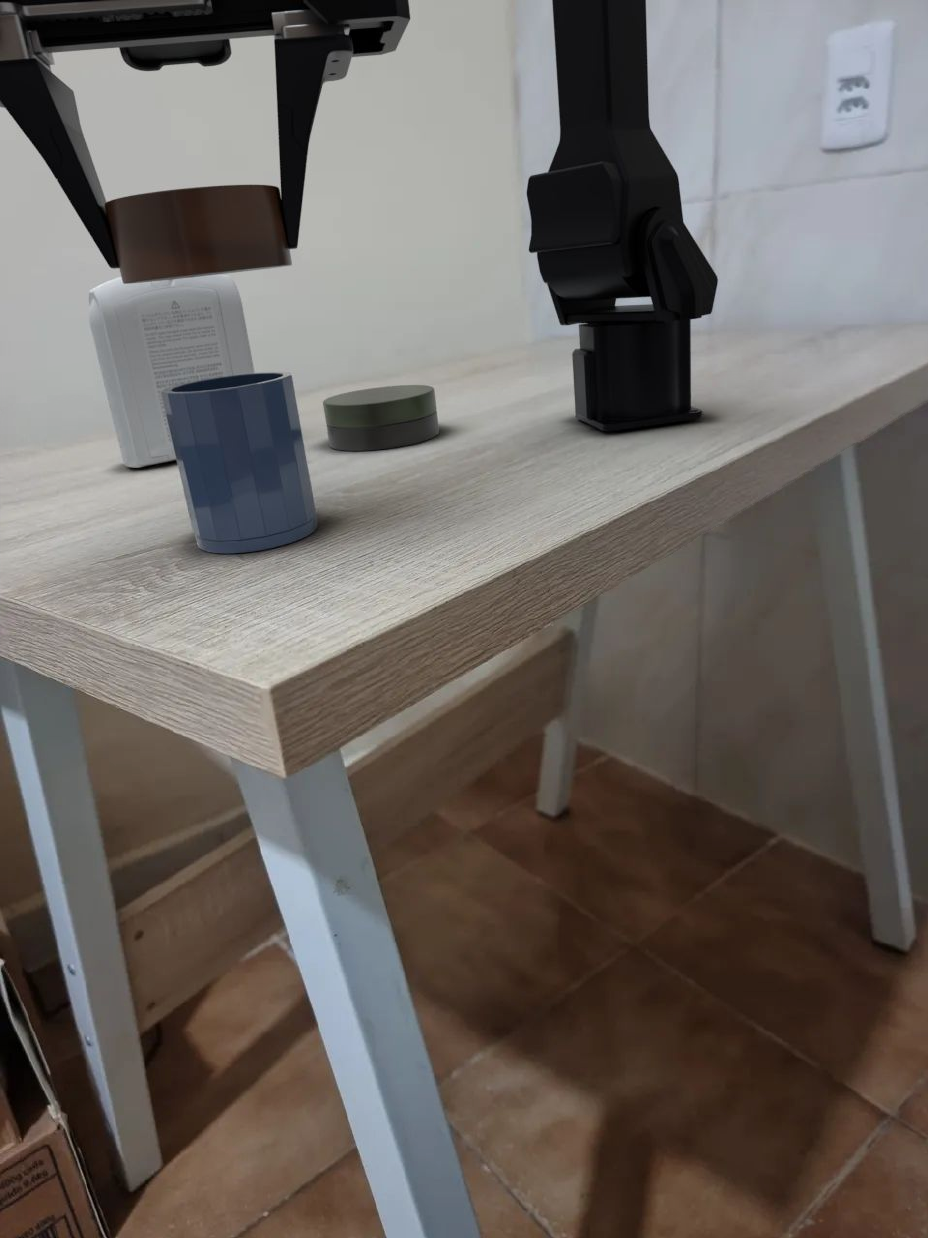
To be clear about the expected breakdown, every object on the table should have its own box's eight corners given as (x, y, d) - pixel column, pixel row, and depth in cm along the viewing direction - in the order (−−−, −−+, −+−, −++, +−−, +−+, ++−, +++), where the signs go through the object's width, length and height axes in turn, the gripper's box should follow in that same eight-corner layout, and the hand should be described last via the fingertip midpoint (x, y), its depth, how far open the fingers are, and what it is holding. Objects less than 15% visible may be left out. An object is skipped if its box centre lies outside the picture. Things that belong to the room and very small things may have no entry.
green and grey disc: (430, 422, 64) (425, 380, 63) (447, 440, 57) (442, 393, 56) (327, 436, 63) (320, 394, 62) (332, 456, 56) (324, 409, 55)
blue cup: (316, 510, 44) (291, 367, 41) (319, 541, 39) (291, 380, 36) (203, 527, 43) (170, 382, 40) (191, 561, 38) (152, 398, 35)
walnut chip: (292, 266, 41) (280, 194, 39) (292, 263, 34) (278, 178, 33) (137, 283, 40) (120, 210, 39) (108, 284, 33) (87, 197, 32)
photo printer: (256, 437, 66) (221, 262, 62) (277, 443, 63) (242, 258, 58) (118, 465, 62) (69, 278, 57) (133, 473, 58) (82, 274, 53)
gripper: (356, -134, 39) (402, 241, 45) (-82, -111, 37) (28, 282, 43) (380, -278, 29) (435, 230, 35) (-223, -259, 27) (-54, 284, 33)
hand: (206, 257), depth 37 cm, fingers closed on walnut chip, 7 cm apart
